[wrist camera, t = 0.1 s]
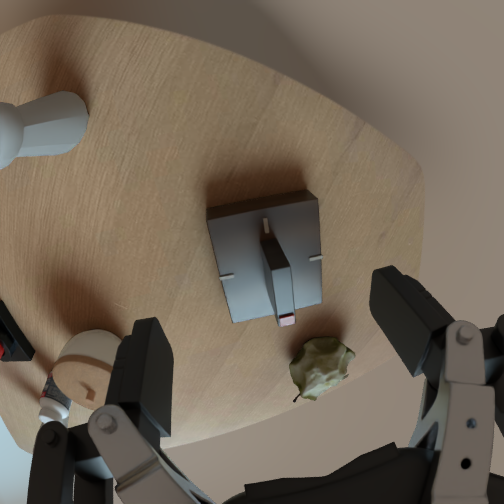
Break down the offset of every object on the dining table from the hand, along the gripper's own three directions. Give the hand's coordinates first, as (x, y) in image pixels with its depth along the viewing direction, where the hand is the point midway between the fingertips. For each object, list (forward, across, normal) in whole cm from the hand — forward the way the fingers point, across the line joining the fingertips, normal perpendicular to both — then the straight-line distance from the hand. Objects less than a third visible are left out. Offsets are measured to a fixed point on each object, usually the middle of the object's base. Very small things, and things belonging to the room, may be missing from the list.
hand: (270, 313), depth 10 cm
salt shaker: (+19, +14, -10) cm, 25 cm away
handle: (+15, -2, +8) cm, 17 cm away
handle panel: (+18, -2, +8) cm, 20 cm away
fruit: (+19, -7, +26) cm, 33 cm away
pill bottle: (+19, +34, +24) cm, 45 cm away
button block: (+18, +39, +12) cm, 45 cm away
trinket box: (+19, +21, +17) cm, 33 cm away
